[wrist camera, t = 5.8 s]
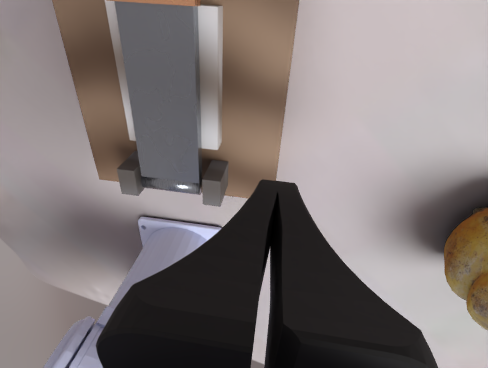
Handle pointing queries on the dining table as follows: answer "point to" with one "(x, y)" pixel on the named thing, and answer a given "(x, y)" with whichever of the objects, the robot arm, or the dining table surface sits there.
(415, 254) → the dining table surface
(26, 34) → the dining table surface
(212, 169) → the clamp board
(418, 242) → the dining table surface
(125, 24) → the tan and grey block
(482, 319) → the decorative figurine
